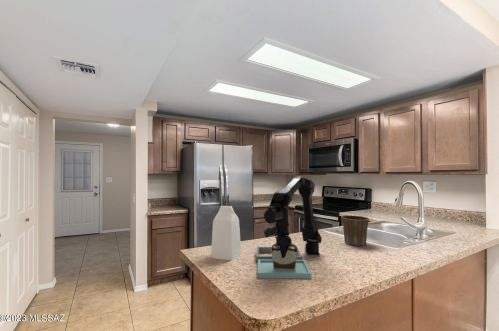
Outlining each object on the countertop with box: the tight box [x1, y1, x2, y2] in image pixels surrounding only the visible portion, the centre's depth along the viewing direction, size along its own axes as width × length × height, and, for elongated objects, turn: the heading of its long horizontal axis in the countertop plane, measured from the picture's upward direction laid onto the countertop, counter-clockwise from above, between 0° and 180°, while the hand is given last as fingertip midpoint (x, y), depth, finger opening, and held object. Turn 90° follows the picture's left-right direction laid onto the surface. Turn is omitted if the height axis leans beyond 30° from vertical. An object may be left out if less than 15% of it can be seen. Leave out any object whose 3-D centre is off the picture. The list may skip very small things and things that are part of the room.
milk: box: [210, 205, 242, 261], centre depth 134 cm, size 12×12×26 cm
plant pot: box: [340, 214, 370, 247], centre depth 156 cm, size 16×16×16 cm
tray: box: [256, 259, 312, 280], centre depth 113 cm, size 22×17×2 cm
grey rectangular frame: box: [255, 246, 303, 264], centre depth 131 cm, size 22×17×3 cm
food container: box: [270, 242, 300, 270], centre depth 113 cm, size 12×6×10 cm, turn 85°
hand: (282, 255), depth 113 cm, fingers open, 6 cm apart
